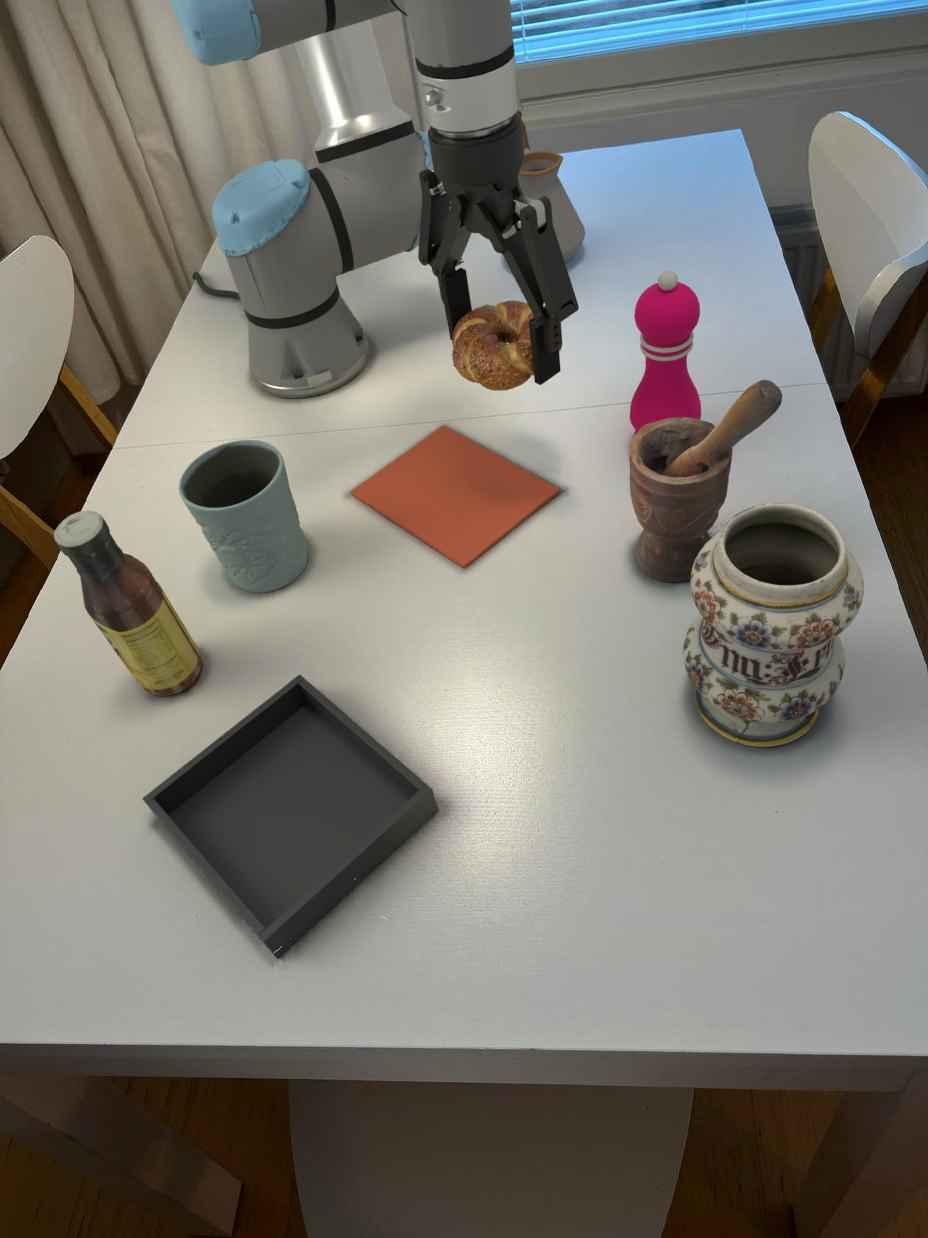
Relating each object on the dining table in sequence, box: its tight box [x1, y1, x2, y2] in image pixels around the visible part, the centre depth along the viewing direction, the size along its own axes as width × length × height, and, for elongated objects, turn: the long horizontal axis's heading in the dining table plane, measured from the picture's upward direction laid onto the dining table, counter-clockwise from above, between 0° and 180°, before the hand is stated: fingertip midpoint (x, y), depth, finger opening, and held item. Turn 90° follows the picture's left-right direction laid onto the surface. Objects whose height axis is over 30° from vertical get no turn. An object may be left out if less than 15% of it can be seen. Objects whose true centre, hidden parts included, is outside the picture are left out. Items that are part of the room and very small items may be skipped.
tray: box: [142, 674, 440, 960], centre depth 76 cm, size 17×16×3 cm
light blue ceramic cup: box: [178, 439, 310, 594], centre depth 93 cm, size 10×10×12 cm
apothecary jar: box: [682, 502, 865, 748], centre depth 71 cm, size 12×12×18 cm
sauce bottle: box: [53, 510, 203, 697], centre depth 81 cm, size 6×6×20 cm
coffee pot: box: [502, 102, 586, 264], centre depth 126 cm, size 21×12×15 cm, turn 8°
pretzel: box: [451, 299, 563, 392], centre depth 89 cm, size 12×11×4 cm
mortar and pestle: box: [628, 379, 783, 583], centre depth 82 cm, size 12×9×20 cm
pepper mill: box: [629, 269, 702, 435], centre depth 92 cm, size 7×7×20 cm
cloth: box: [349, 425, 561, 569], centre depth 100 cm, size 18×14×1 cm
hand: (503, 354), depth 91 cm, fingers closed on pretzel, 11 cm apart
